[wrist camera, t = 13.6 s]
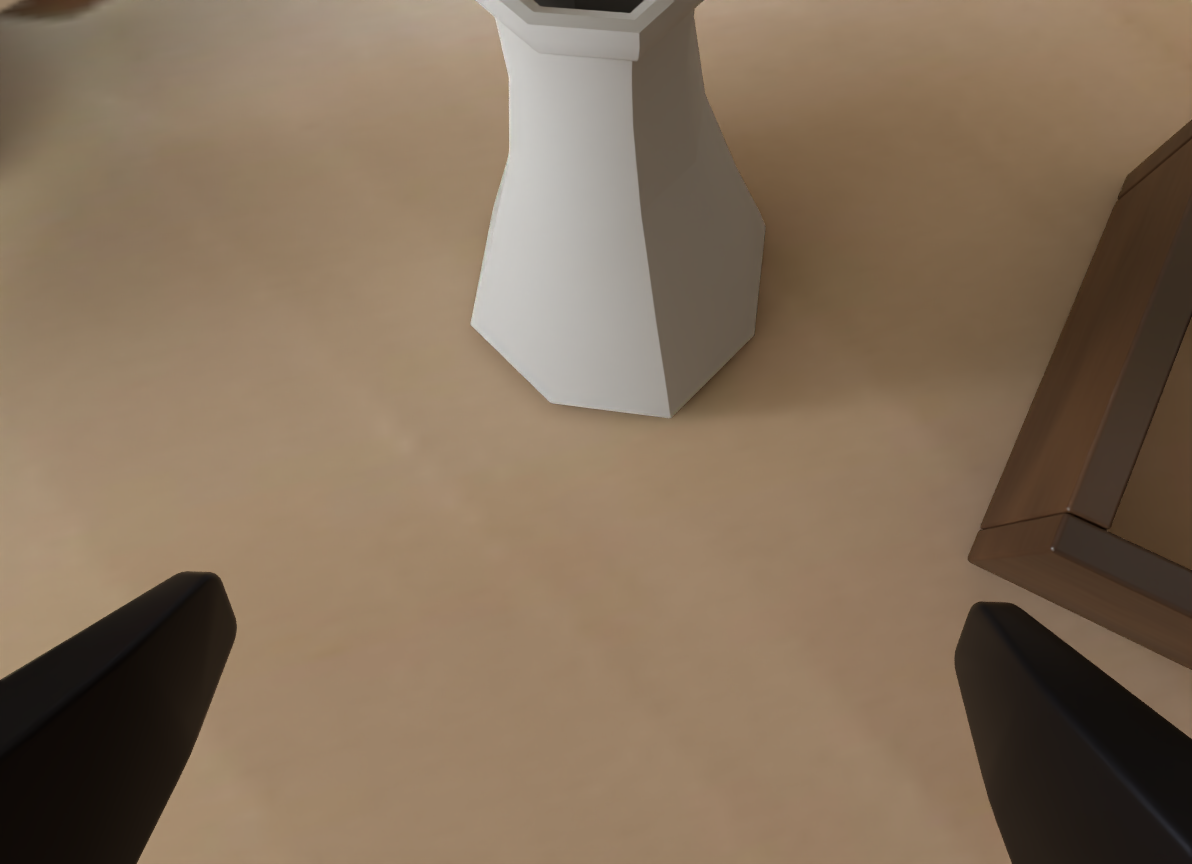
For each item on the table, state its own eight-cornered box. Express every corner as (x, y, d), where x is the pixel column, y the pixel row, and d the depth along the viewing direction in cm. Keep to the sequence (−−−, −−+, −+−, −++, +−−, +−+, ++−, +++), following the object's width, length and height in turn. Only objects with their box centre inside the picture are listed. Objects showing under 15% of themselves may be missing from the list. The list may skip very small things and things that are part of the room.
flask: (811, 215, 18) (1006, -222, 8) (688, 471, 17) (751, 302, 7) (557, 112, 19) (471, -380, 10) (424, 344, 18) (170, 51, 8)
